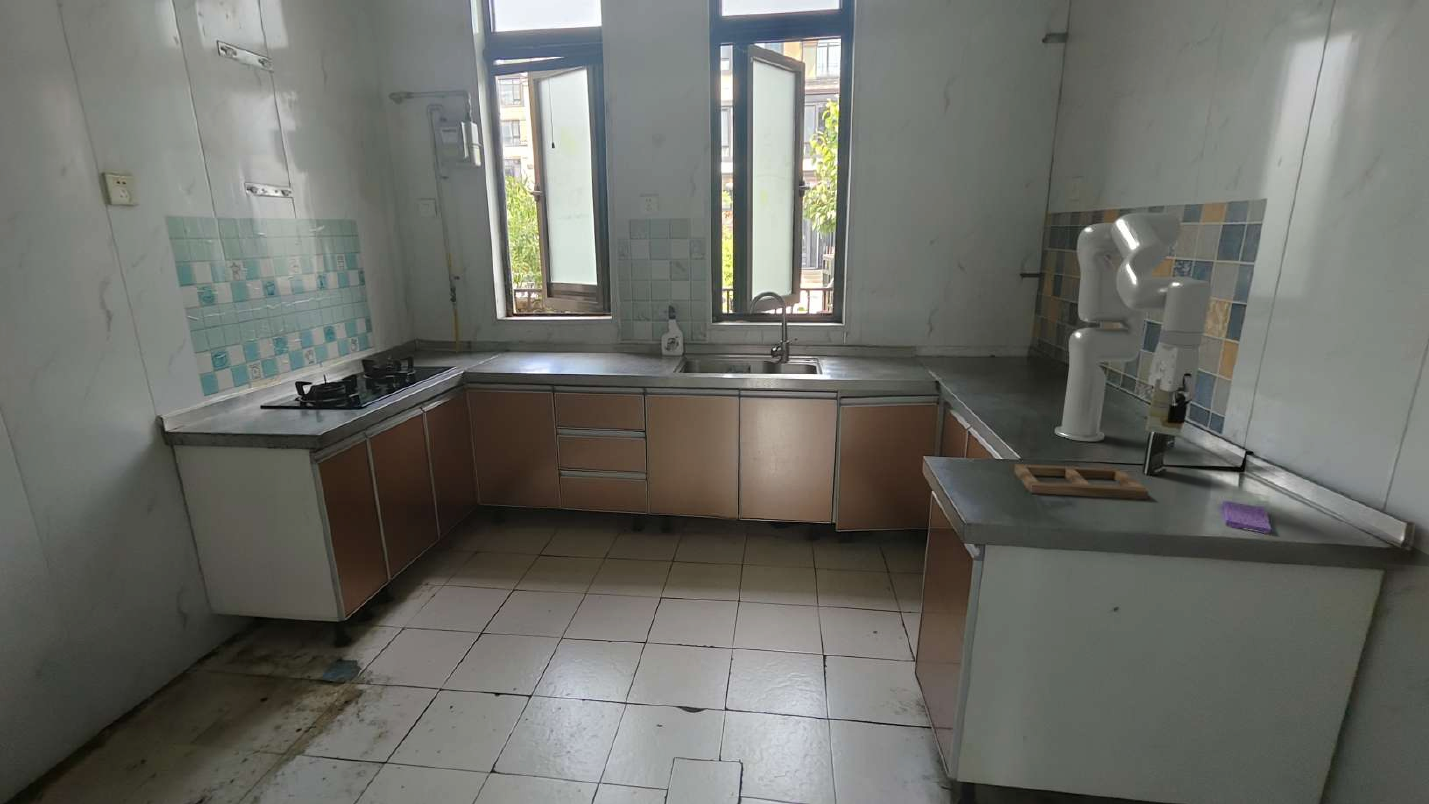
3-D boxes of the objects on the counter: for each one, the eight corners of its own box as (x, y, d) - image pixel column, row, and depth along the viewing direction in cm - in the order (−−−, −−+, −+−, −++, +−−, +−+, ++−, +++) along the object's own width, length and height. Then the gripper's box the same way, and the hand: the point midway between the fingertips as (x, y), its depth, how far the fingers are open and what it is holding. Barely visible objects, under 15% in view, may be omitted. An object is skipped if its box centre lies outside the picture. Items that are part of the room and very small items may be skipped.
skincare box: (1145, 431, 141) (1154, 377, 138) (1148, 426, 144) (1157, 374, 141) (1180, 436, 137) (1190, 382, 134) (1182, 432, 140) (1192, 378, 137)
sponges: (1223, 527, 127) (1225, 519, 126) (1221, 506, 136) (1223, 498, 136) (1269, 537, 123) (1271, 528, 122) (1264, 515, 132) (1266, 506, 132)
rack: (1013, 471, 157) (1014, 463, 156) (1118, 476, 153) (1120, 468, 152) (1030, 492, 144) (1031, 484, 143) (1146, 499, 140) (1148, 490, 139)
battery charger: (1158, 478, 152) (1166, 433, 149) (1141, 473, 155) (1148, 429, 152) (1171, 472, 155) (1179, 428, 153) (1153, 468, 158) (1161, 424, 156)
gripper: (1141, 332, 144) (1128, 407, 149) (1183, 344, 128) (1168, 429, 132) (1177, 332, 143) (1163, 408, 148) (1224, 345, 126) (1207, 430, 131)
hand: (1166, 417), depth 140 cm, fingers closed on skincare box, 6 cm apart
